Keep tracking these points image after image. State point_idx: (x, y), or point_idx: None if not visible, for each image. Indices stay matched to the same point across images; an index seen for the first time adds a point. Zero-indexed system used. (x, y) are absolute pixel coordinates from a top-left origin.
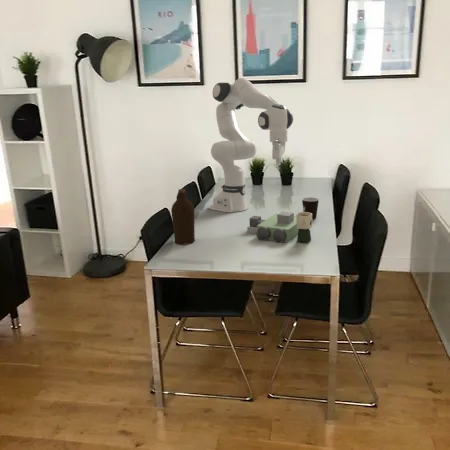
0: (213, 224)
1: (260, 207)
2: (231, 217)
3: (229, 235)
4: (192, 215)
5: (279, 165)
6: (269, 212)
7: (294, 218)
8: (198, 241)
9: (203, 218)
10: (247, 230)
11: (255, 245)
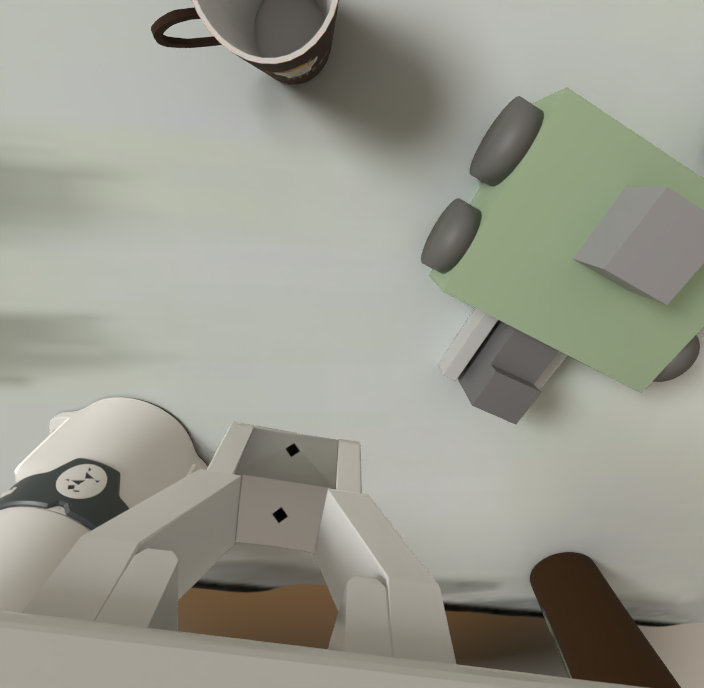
0: None
1: (90, 337)
2: None
3: (536, 459)
4: (658, 665)
5: (356, 446)
6: (186, 294)
7: (574, 176)
8: (574, 542)
9: None
10: None
11: (697, 371)
